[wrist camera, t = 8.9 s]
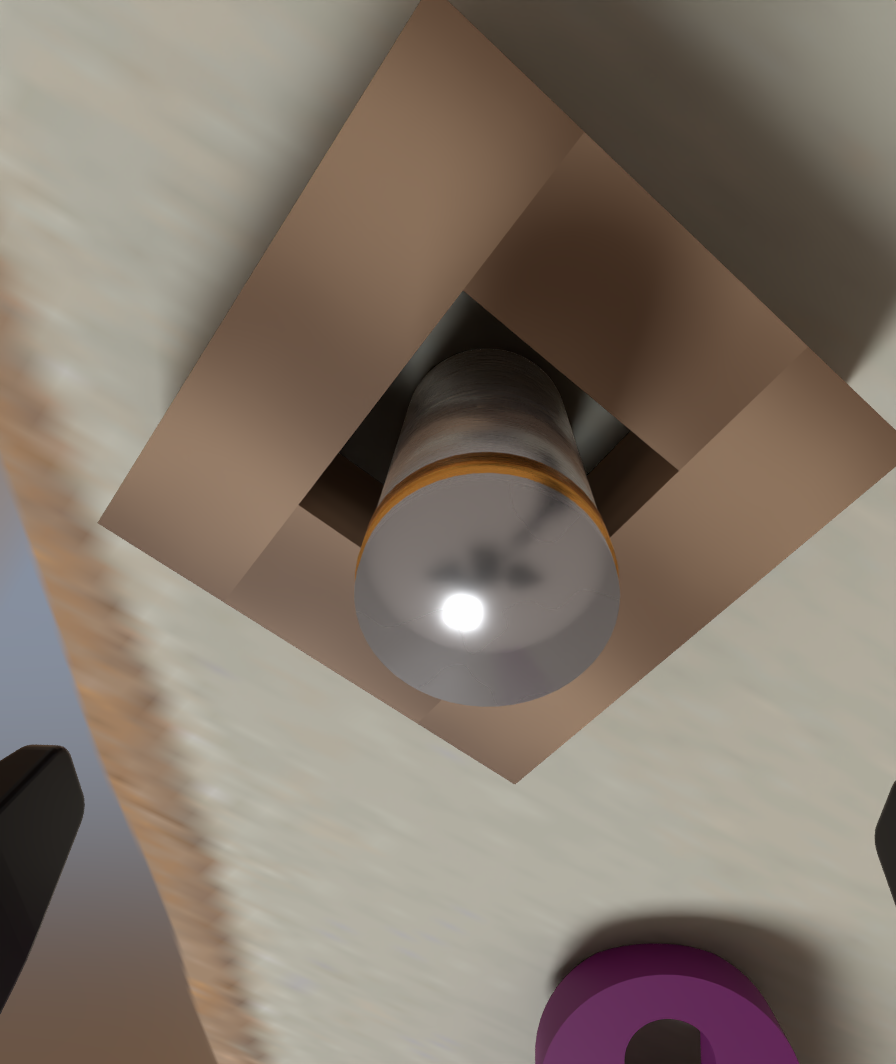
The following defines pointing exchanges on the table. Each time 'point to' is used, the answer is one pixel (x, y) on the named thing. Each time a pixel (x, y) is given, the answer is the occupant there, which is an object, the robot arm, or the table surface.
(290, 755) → the table surface
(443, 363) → the steel pin
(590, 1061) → the mounting bracket
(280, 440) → the socket block
